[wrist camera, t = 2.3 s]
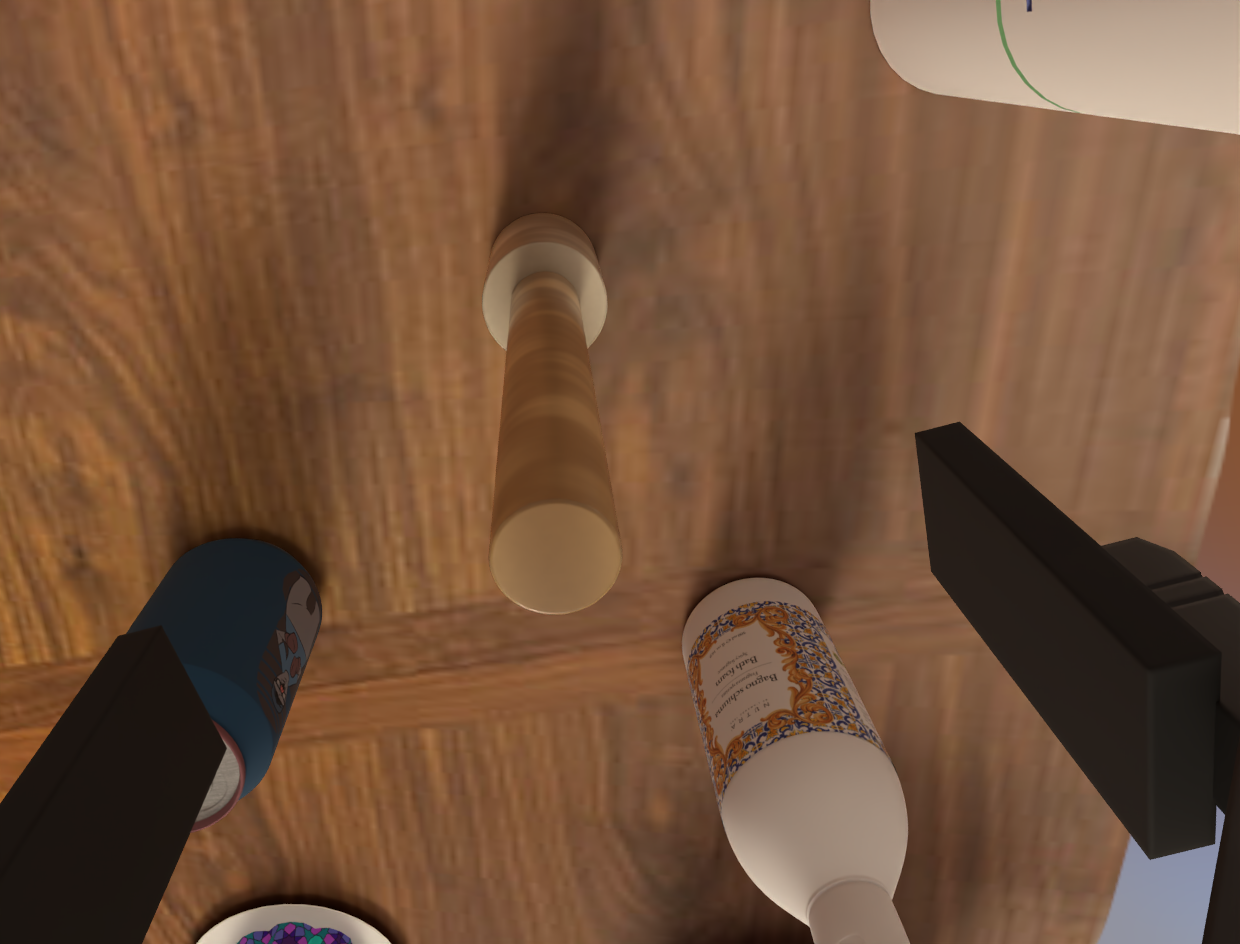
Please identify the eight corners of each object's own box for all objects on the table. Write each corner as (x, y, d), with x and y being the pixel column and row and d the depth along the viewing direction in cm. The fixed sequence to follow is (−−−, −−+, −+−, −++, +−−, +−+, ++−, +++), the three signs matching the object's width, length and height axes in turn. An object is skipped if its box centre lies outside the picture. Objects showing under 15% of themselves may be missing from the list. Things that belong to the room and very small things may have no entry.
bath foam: (768, 546, 45) (926, 887, 27) (844, 639, 48) (1034, 1008, 30) (651, 626, 46) (726, 1002, 28) (731, 712, 49) (846, 1108, 31)
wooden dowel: (582, 200, 38) (648, 419, 16) (608, 305, 40) (699, 629, 18) (475, 228, 38) (396, 483, 16) (506, 331, 40) (474, 685, 18)
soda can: (139, 593, 43) (8, 779, 33) (236, 495, 42) (132, 656, 31) (263, 678, 46) (179, 878, 35) (359, 590, 44) (302, 769, 33)
